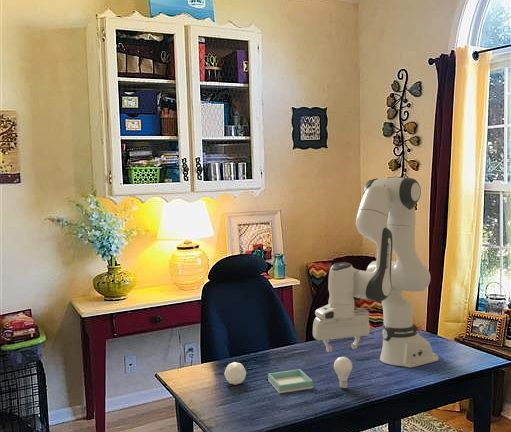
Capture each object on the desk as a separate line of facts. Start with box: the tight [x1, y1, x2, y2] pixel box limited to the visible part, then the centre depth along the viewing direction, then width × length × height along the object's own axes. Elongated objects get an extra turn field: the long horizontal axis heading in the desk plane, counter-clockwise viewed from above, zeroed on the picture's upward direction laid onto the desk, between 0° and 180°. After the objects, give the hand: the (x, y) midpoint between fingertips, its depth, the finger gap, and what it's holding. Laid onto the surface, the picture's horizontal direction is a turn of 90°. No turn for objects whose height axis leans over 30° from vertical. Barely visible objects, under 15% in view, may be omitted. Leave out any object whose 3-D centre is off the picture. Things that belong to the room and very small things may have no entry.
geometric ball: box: [224, 361, 247, 386], centre depth 207 cm, size 8×8×8 cm
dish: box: [267, 368, 314, 394], centre depth 205 cm, size 12×12×3 cm
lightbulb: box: [333, 356, 353, 389], centre depth 200 cm, size 6×6×11 cm
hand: (341, 350), depth 198 cm, fingers open, 8 cm apart
